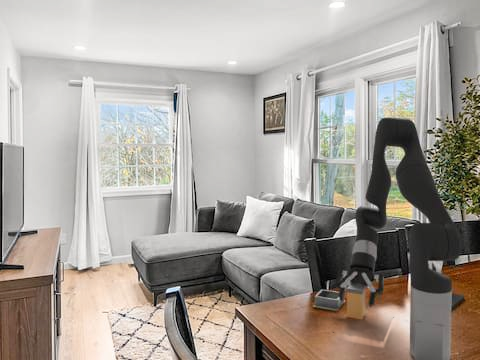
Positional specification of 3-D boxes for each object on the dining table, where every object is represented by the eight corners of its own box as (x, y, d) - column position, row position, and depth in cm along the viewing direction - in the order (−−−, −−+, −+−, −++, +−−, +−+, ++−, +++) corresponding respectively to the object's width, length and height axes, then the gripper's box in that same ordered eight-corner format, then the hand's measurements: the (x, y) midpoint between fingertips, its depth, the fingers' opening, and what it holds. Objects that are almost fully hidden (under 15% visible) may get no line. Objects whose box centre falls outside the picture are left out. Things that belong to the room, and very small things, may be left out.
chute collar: (338, 309, 127) (338, 300, 126) (314, 305, 130) (314, 296, 130) (343, 301, 133) (343, 292, 133) (321, 297, 137) (321, 289, 137)
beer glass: (421, 287, 150) (422, 248, 149) (422, 282, 156) (423, 244, 155) (442, 290, 147) (442, 250, 146) (442, 285, 153) (443, 246, 152)
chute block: (362, 323, 119) (362, 290, 118) (347, 320, 121) (347, 288, 120) (365, 318, 123) (365, 286, 122) (350, 315, 125) (350, 284, 124)
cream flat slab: (337, 314, 126) (337, 310, 126) (313, 310, 129) (313, 306, 129) (345, 304, 134) (345, 300, 134) (321, 300, 138) (321, 296, 138)
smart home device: (418, 304, 130) (440, 290, 144) (418, 309, 130) (440, 294, 144) (445, 311, 124) (465, 295, 138) (445, 316, 124) (465, 300, 138)
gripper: (340, 248, 131) (330, 293, 122) (385, 253, 125) (379, 301, 115) (343, 260, 136) (334, 304, 127) (387, 266, 130) (381, 312, 120)
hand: (355, 303), depth 121 cm, fingers open, 8 cm apart
